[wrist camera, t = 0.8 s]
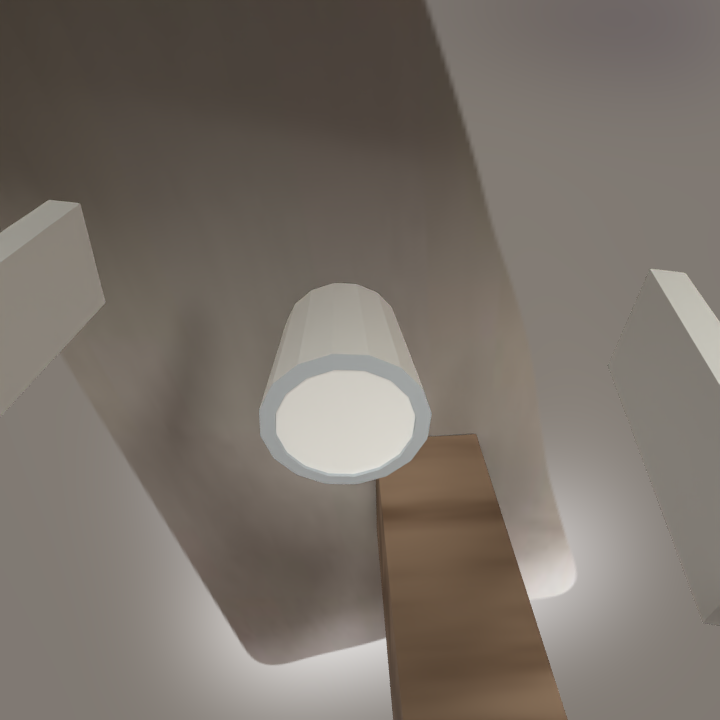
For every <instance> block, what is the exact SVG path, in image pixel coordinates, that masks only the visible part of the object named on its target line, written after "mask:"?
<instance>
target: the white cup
mask: <svg viewBox="0 0 720 720" xmlns="http://www.w3.org/2000/svg"><path fill="white" fill-rule="evenodd" d="M431 416H432V413H431V410H430V407H429V404H428V401H427V398H426V396H425V393H424V390H423V387H422V384H421V382H420V379H419V377H418V374H417V371H416V369H415V366H414V363H413V361H412V358H411V356H410V353H409V350H408V348H407V345H406V343H405V340H404V337H403V335H402V332H401V330H400V327H399V324H398V322H397V319H396V316H395V314H394V311H393V309H392V307H391V306H390V305H389V304H388V303H387V302H386V301H385V300H384V299H383V298H382V297H381V296H380V295H379V294H378V293H377V292H375V291H372V290H370V289H368V288H365V287H363V286H361V285H358V284H348V283H332V284H329V285H326V286H322V287H319V288H316V289H313V290H311V291H310V292H309V293H307V294H306V295H305V296H304V297H303V298H301V299H300V300H299V301H298V302H297V303H295V305H294V307H293V309H292V311H291V313H290V315H289V317H288V319H287V321H286V325H285V328H284V331H283V334H282V337H281V341H280V344H279V347H278V350H277V354H276V357H275V360H274V363H273V367H272V370H271V373H270V376H269V379H268V383H267V386H266V389H265V392H264V396H263V399H262V402H261V405H260V409H259V418H260V436H261V438H262V439H263V441H264V443H265V444H266V446H267V448H268V449H269V451H270V453H271V455H272V456H273V458H274V459H275V460H277V461H278V462H280V463H281V464H282V465H284V466H285V467H286V468H288V469H289V470H291V471H292V472H293V473H295V474H296V475H299V476H302V477H305V478H308V479H312V480H315V481H318V482H321V483H325V484H360V483H363V482H367V481H371V480H375V479H378V478H382V477H386V476H388V475H389V474H391V473H392V472H394V471H396V470H397V469H399V468H400V467H402V466H404V465H405V464H407V463H408V462H410V461H411V460H412V459H413V457H414V456H415V455H416V453H417V452H418V451H419V449H420V448H421V447H422V445H423V444H424V443H425V441H426V440H427V437H428V432H429V426H430V421H431Z"/></svg>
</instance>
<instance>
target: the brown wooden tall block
mask: <svg viewBox="0 0 720 720" xmlns="http://www.w3.org/2000/svg"><path fill="white" fill-rule="evenodd" d="M376 509H377V537H378V549H379V560H380V572H381V583H382V595H383V606H384V618H385V630H386V640H387V653H388V664H389V675H390V687H391V698H392V711H393V720H568V719H567V716H566V713H565V710H564V707H563V704H562V701H561V698H560V694H559V691H558V688H557V685H556V682H555V679H554V676H553V673H552V670H551V667H550V663H549V660H548V657H547V654H546V651H545V648H544V645H543V642H542V638H541V635H540V632H539V629H538V627H537V623H536V620H535V617H534V614H533V610H532V607H531V604H530V601H529V598H528V595H527V592H526V589H525V585H524V582H523V579H522V576H521V573H520V570H519V567H518V564H517V560H516V557H515V554H514V551H513V548H512V545H511V542H510V539H509V536H508V532H507V529H506V526H505V523H504V520H503V517H502V514H501V511H500V507H499V504H498V501H497V498H496V495H495V492H494V489H493V486H492V483H491V479H490V476H489V473H488V470H487V467H486V464H485V461H484V458H483V455H482V451H481V448H480V445H479V442H478V439H477V436H476V434H471V435H453V436H434V437H427V440H426V441H425V443H424V444H423V445H422V447H421V448H420V449H419V451H418V452H417V453H416V455H415V456H414V457H413V459H412V460H411V461H410V462H408V463H407V464H405V465H404V466H402V467H400V468H399V469H397V470H396V471H394V472H392V473H391V474H389V475H388V476H386V477H382V478H378V479H376Z"/></svg>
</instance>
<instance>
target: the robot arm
mask: <svg viewBox="0 0 720 720" xmlns="http://www.w3.org/2000/svg"><path fill="white" fill-rule="evenodd" d="M105 303H106V302H105V298H104V294H103V290H102V287H101V283H100V279H99V275H98V271H97V267H96V263H95V259H94V255H93V251H92V247H91V243H90V240H89V236H88V232H87V228H86V224H85V220H84V216H83V212H82V208H81V204H80V203H74V202H65V201H56V200H48V201H46V202H45V203H43V204H42V205H40V206H39V207H37V208H36V209H34V210H33V211H31V212H30V213H28V214H27V215H25V216H24V217H23V218H21V219H20V220H18V221H17V222H15V223H14V224H12V225H11V226H9V227H8V228H6V229H5V230H3V231H2V232H0V417H1V416H2V415H3V414H4V413H5V412H6V411H7V409H8V408H9V407H10V406H11V405H12V404H13V403H14V402H15V401H16V399H18V397H19V396H20V395H21V394H22V393H23V392H24V391H25V390H26V389H27V388H28V387H29V386H30V384H31V383H32V382H33V381H34V380H35V379H36V378H37V377H38V376H39V375H40V374H41V372H42V371H43V370H44V369H45V368H46V367H47V366H48V365H49V364H50V363H51V362H52V360H53V359H54V358H55V357H56V356H57V355H58V354H59V353H60V352H61V351H62V350H63V349H64V348H65V346H66V345H67V344H68V343H69V342H70V341H71V340H72V339H73V338H74V337H75V336H76V334H77V333H78V332H79V331H80V330H81V329H82V328H83V327H84V326H85V325H86V324H87V323H88V321H89V320H90V319H91V318H92V317H93V316H94V315H95V314H96V313H97V312H98V311H99V309H100V308H101V307H102V306H103V305H104V304H105ZM608 368H609V371H610V373H611V376H612V379H613V381H614V384H615V387H616V390H617V392H618V395H619V398H620V400H621V403H622V406H623V408H624V411H625V414H626V417H627V419H628V422H629V425H630V427H631V430H632V433H633V436H634V438H635V441H636V444H637V446H638V449H639V452H640V454H641V457H642V460H643V462H644V465H645V468H646V471H647V473H648V476H649V479H650V482H651V484H652V487H653V490H654V492H655V495H656V498H657V501H658V503H659V506H660V509H661V511H662V514H663V517H664V519H665V522H666V525H667V528H668V530H669V533H670V536H671V538H672V541H673V544H674V547H675V549H676V552H677V554H678V557H679V560H680V563H681V565H682V568H683V571H684V574H685V576H686V579H687V582H688V584H689V587H690V590H691V593H692V595H693V598H694V601H695V603H696V606H697V609H698V611H699V614H700V617H701V619H702V622H703V623H704V624H711V625H718V626H720V322H719V321H718V319H717V318H716V316H715V315H714V313H713V312H712V310H711V309H710V308H709V306H708V305H707V303H706V302H705V301H704V299H703V297H702V296H701V295H700V293H699V292H698V290H697V289H696V287H695V286H694V285H693V283H692V282H691V280H690V279H689V278H688V276H687V275H686V273H682V272H674V271H665V270H657V269H650V270H649V272H648V274H647V276H646V279H645V281H644V283H643V286H642V288H641V290H640V293H639V295H638V297H637V300H636V302H635V304H634V306H633V309H632V311H631V313H630V316H629V318H628V320H627V323H626V325H625V327H624V329H623V332H622V334H621V336H620V339H619V341H618V343H617V346H616V348H615V350H614V352H613V355H612V357H611V359H610V362H609V364H608Z"/></svg>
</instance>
